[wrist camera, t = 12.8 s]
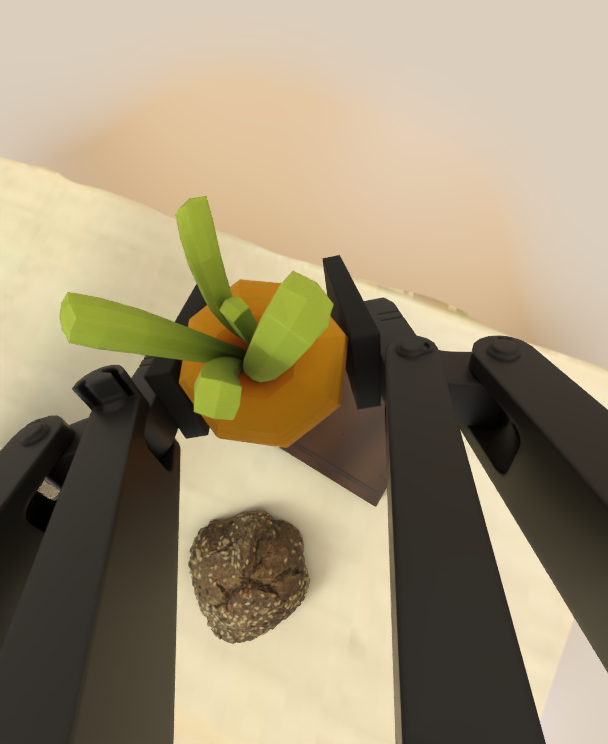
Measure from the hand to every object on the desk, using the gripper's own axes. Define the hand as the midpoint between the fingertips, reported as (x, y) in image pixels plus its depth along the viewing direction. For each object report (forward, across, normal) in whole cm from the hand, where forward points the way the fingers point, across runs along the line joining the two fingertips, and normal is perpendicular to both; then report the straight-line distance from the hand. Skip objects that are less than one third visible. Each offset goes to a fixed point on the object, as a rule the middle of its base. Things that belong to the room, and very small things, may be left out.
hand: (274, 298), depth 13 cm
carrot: (+1, 0, -6) cm, 7 cm away
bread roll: (-1, -10, -30) cm, 32 cm away
